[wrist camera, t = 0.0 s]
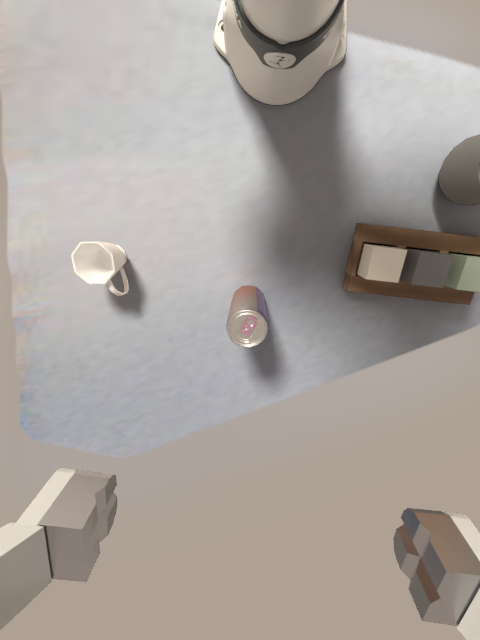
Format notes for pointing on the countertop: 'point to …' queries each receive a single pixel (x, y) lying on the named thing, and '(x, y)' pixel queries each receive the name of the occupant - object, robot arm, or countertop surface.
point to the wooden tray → (403, 240)
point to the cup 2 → (462, 173)
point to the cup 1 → (100, 264)
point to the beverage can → (247, 317)
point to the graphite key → (426, 268)
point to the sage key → (464, 273)
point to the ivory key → (381, 263)
